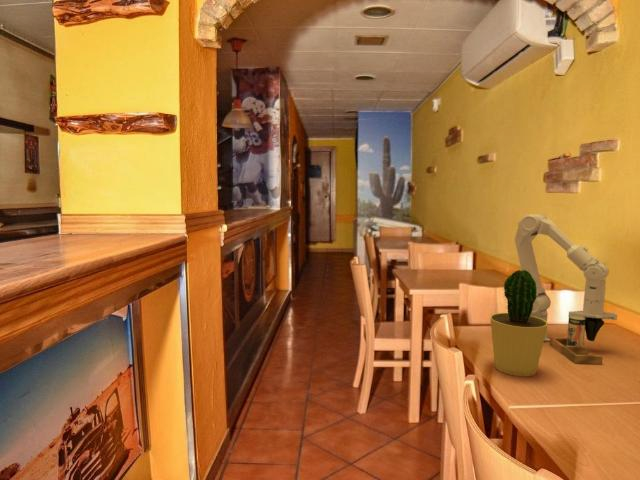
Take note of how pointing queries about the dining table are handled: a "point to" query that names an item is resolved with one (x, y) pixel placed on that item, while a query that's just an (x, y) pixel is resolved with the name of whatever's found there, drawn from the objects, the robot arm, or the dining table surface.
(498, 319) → the potted cactus
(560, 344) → the brown compartment tray
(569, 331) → the beer can
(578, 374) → the dining table surface
